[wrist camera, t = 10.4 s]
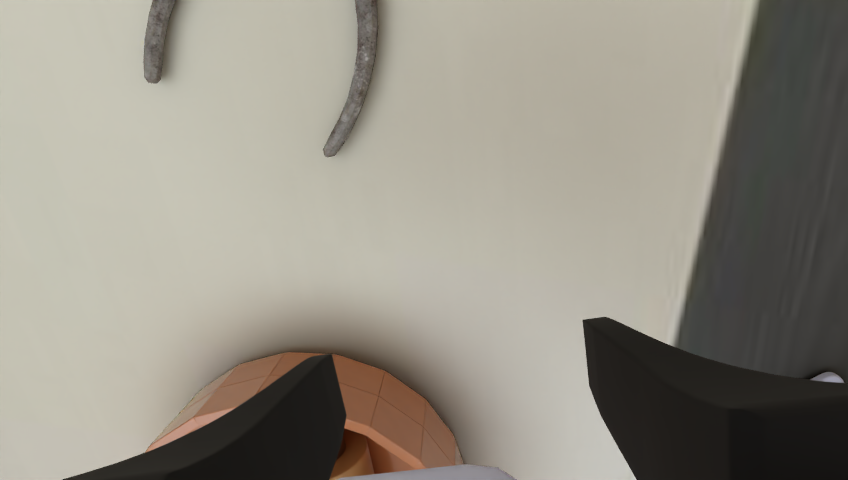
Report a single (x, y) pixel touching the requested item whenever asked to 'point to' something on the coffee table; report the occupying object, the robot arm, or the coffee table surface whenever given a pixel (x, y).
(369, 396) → the bowl
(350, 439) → the rolling pin
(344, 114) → the pliers
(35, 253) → the coffee table surface
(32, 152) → the coffee table surface
